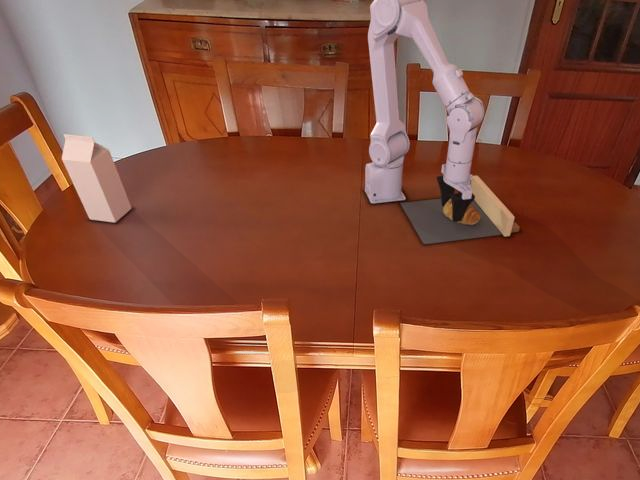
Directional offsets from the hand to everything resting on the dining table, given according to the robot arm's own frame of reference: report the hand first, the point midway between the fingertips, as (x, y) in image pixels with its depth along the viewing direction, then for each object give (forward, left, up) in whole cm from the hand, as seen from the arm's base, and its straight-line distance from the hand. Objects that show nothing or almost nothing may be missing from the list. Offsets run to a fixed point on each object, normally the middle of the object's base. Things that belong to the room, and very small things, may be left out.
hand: (451, 212), depth 115 cm
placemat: (-1, 0, -1) cm, 2 cm away
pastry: (+3, 0, -2) cm, 3 cm away
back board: (+12, 0, -1) cm, 12 cm away
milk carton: (-82, +20, -2) cm, 85 cm away
